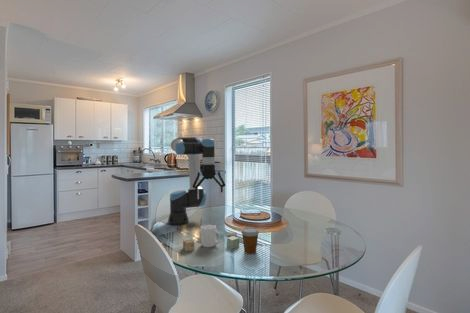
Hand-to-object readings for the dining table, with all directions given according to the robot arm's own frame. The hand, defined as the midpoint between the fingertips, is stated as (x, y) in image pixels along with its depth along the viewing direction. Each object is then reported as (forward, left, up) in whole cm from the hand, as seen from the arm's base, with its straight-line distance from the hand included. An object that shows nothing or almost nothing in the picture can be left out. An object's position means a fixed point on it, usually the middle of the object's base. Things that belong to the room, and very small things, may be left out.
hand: (209, 198), depth 167 cm
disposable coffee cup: (+25, +20, -25) cm, 41 cm away
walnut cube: (+9, +13, -25) cm, 30 cm away
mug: (+12, 0, -25) cm, 28 cm away
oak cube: (+15, -13, -25) cm, 32 cm away
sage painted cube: (+16, +12, -25) cm, 32 cm away
